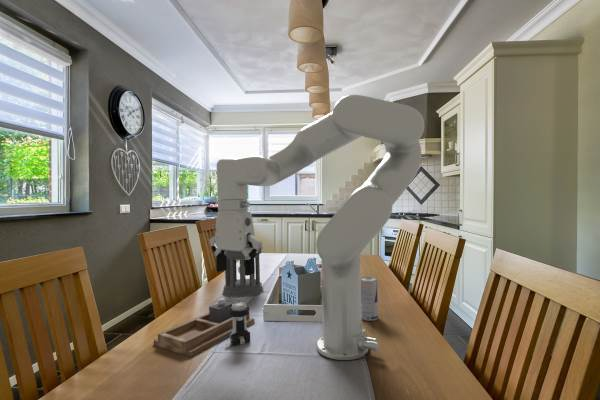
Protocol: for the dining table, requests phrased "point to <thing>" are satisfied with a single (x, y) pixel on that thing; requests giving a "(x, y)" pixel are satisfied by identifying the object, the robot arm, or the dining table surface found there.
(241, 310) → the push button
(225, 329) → the brown wooden divided tray
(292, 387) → the dining table surface
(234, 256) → the lantern
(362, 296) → the energy drink
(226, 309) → the plug block
